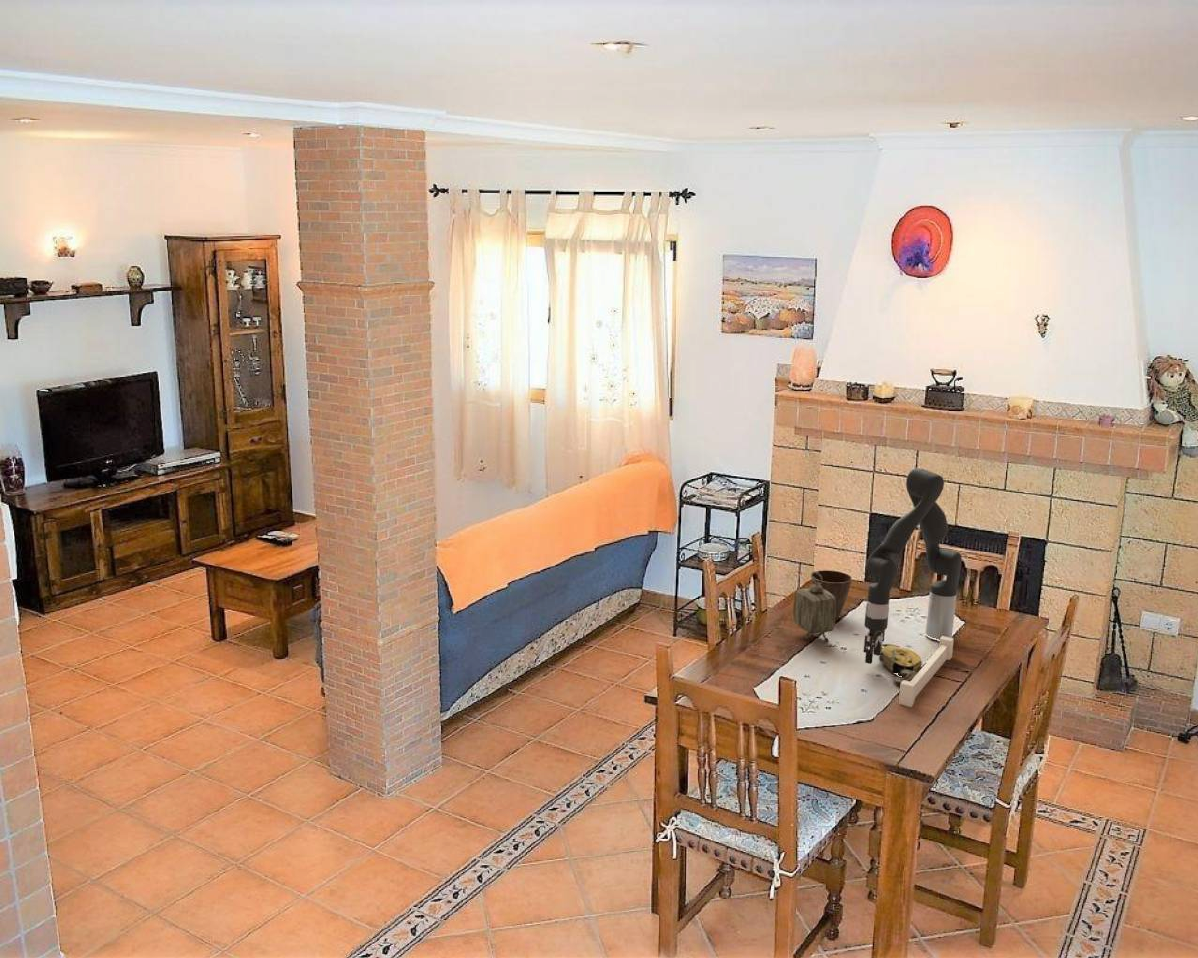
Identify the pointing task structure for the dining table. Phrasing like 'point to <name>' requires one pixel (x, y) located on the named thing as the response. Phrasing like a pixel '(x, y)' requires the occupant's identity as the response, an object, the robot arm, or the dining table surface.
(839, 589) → the plant pot
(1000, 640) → the dining table surface
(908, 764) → the dining table surface
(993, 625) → the dining table surface
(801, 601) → the tabletop clock
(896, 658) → the pulley block
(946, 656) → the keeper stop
